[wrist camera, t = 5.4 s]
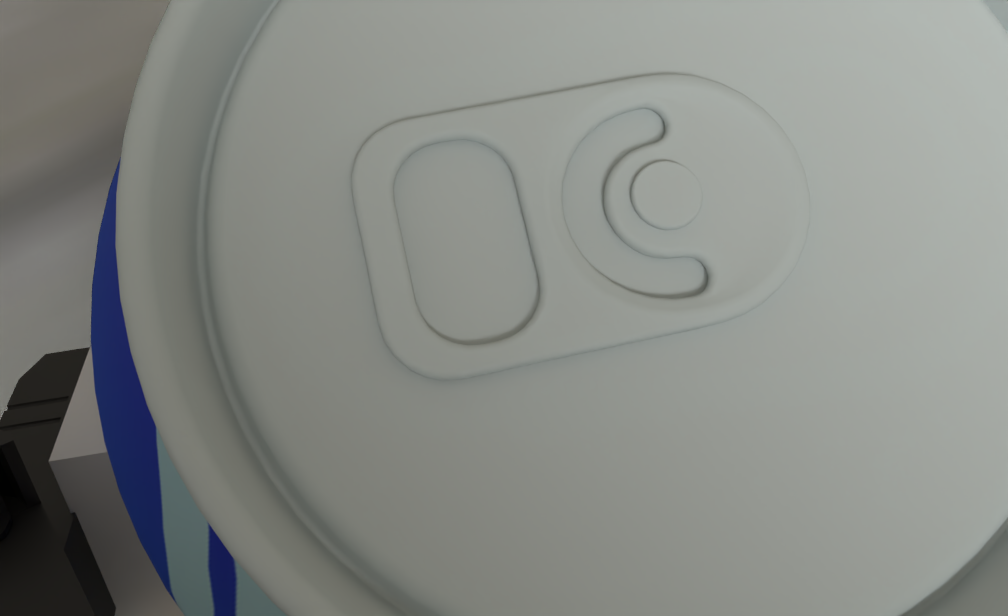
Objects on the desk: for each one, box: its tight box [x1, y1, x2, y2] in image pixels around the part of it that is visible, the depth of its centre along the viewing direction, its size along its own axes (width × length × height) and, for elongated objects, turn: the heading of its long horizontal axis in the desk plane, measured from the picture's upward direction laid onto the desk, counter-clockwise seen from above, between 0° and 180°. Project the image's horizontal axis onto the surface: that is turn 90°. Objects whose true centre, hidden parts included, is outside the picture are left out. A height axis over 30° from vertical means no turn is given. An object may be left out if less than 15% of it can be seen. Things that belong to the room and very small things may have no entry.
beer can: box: [91, 0, 1008, 616], centre depth 13 cm, size 8×8×16 cm
